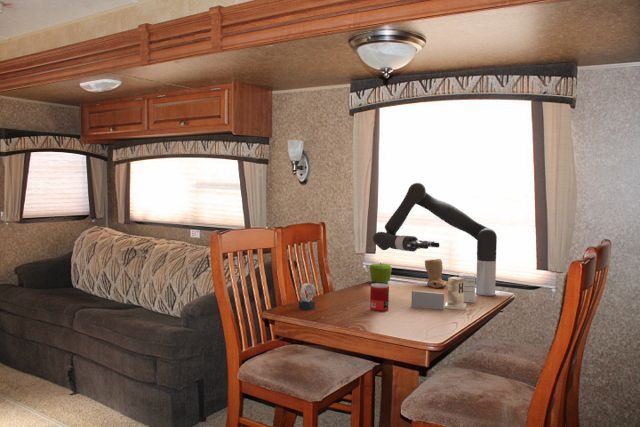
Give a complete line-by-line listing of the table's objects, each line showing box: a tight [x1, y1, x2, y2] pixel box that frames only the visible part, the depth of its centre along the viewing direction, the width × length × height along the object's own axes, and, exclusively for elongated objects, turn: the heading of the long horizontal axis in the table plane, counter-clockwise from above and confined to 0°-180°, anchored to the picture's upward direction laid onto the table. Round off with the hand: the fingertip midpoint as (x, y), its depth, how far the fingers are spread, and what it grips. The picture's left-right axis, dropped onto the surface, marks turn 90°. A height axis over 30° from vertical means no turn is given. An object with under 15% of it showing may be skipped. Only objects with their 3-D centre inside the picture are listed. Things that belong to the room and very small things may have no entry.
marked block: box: [447, 276, 465, 306], centre depth 234 cm, size 5×5×12 cm
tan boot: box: [424, 258, 447, 289], centre depth 285 cm, size 15×12×15 cm
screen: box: [410, 290, 445, 310], centre depth 232 cm, size 2×14×7 cm, turn 70°
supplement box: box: [458, 272, 476, 303], centre depth 248 cm, size 7×7×13 cm
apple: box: [369, 262, 393, 284], centre depth 293 cm, size 12×12×11 cm
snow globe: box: [298, 282, 316, 311], centre depth 227 cm, size 6×8×11 cm
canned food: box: [369, 282, 390, 313], centre depth 227 cm, size 8×8×11 cm
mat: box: [444, 301, 467, 311], centre depth 234 cm, size 9×9×1 cm
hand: (433, 245), depth 245 cm, fingers open, 8 cm apart
